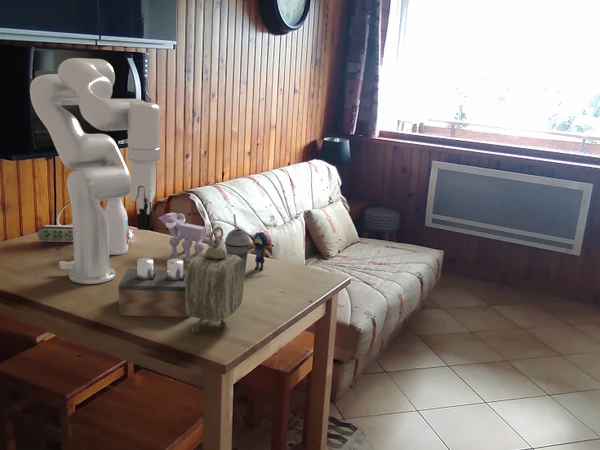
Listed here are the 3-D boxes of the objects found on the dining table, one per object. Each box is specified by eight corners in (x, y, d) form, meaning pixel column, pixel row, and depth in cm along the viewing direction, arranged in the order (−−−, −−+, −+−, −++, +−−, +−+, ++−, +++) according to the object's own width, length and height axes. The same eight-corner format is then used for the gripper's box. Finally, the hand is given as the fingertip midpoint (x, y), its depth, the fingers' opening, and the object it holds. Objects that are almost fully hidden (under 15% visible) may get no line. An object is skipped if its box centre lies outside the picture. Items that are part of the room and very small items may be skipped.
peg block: (119, 315, 150) (118, 285, 148) (128, 296, 162) (127, 268, 160) (190, 316, 152) (191, 287, 150) (194, 298, 164) (194, 270, 162)
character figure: (242, 268, 188) (244, 231, 185) (249, 264, 192) (250, 228, 189) (269, 274, 185) (271, 236, 182) (275, 270, 189) (277, 233, 185)
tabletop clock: (211, 312, 156) (213, 218, 149) (243, 318, 153) (247, 223, 147) (184, 335, 142) (186, 233, 136) (220, 342, 140) (223, 239, 133)
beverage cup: (244, 286, 174) (247, 219, 169) (220, 283, 175) (222, 216, 170) (251, 277, 181) (254, 213, 176) (228, 274, 182) (230, 210, 177)
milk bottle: (124, 256, 193) (123, 194, 187) (100, 254, 193) (98, 193, 187) (131, 248, 200) (130, 189, 195) (107, 247, 200) (106, 187, 195)
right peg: (166, 292, 154) (166, 263, 152) (168, 286, 158) (168, 258, 156) (182, 292, 155) (182, 264, 152) (183, 286, 158) (184, 258, 156)
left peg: (136, 291, 153) (135, 262, 151) (138, 285, 157) (138, 257, 155) (152, 292, 154) (152, 263, 152) (154, 286, 158) (154, 258, 156)
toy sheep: (147, 254, 195) (148, 213, 192) (167, 247, 205) (169, 208, 202) (199, 266, 187) (201, 223, 184) (217, 259, 197) (220, 218, 194)
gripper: (134, 149, 153) (135, 219, 158) (122, 159, 138) (123, 237, 143) (164, 150, 154) (164, 220, 159) (155, 161, 139) (155, 238, 144)
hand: (144, 227), depth 151 cm, fingers closed
